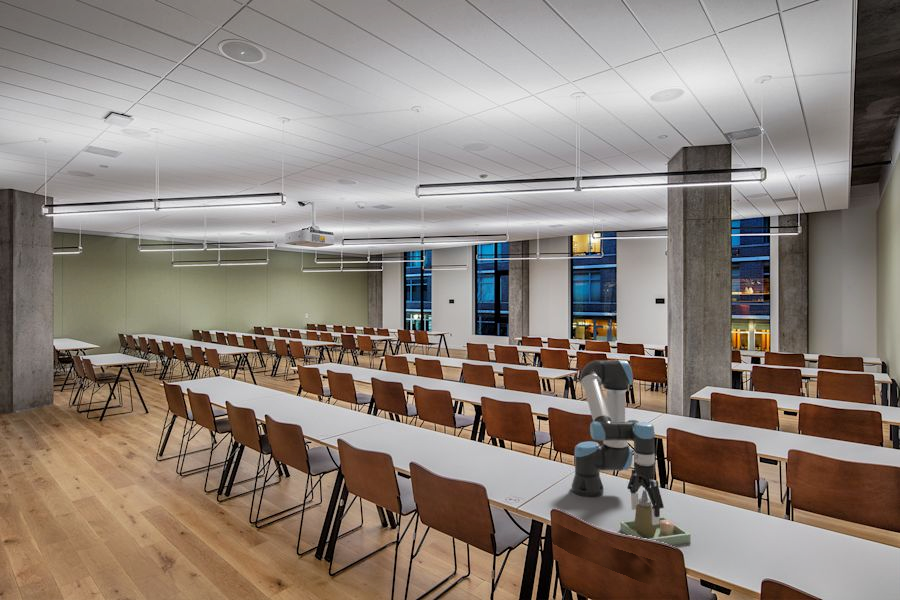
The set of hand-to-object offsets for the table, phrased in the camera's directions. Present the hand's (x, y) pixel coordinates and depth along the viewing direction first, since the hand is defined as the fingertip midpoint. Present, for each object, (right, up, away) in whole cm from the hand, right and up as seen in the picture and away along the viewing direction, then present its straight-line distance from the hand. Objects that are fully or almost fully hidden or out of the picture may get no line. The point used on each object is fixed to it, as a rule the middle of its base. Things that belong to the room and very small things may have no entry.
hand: (644, 516), depth 194 cm
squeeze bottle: (0, -8, 0) cm, 8 cm away
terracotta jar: (+9, -8, +2) cm, 12 cm away
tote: (+4, -8, +1) cm, 9 cm away
